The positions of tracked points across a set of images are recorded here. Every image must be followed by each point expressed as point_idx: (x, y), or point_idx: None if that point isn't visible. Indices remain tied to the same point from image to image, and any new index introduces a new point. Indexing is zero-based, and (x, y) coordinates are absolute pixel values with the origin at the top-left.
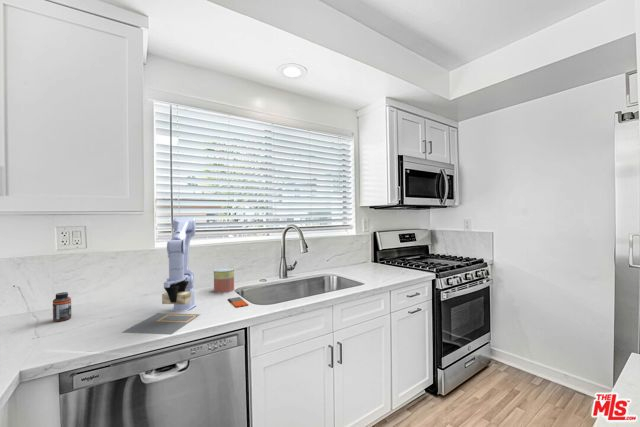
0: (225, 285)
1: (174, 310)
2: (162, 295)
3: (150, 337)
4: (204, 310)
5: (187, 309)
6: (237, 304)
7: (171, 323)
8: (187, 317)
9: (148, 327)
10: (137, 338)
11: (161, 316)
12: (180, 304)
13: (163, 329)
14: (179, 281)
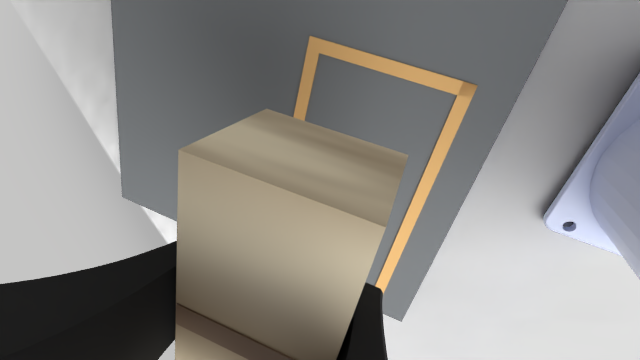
0: None
1: (631, 113)
2: (194, 149)
3: (102, 94)
4: (533, 344)
5: (597, 237)
6: None
7: None
8: None
9: (193, 25)
10: (81, 22)
11: (438, 32)
12: (617, 209)
13: (169, 142)
14: None
